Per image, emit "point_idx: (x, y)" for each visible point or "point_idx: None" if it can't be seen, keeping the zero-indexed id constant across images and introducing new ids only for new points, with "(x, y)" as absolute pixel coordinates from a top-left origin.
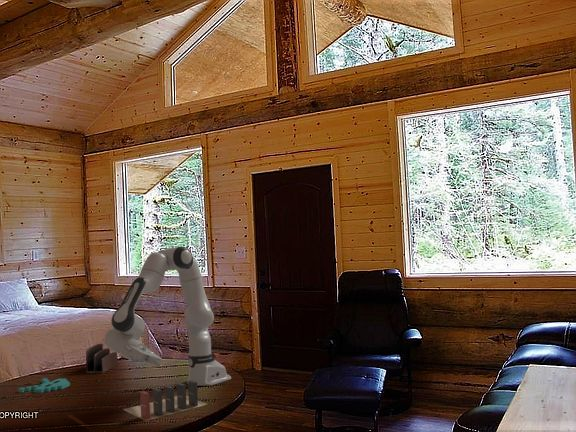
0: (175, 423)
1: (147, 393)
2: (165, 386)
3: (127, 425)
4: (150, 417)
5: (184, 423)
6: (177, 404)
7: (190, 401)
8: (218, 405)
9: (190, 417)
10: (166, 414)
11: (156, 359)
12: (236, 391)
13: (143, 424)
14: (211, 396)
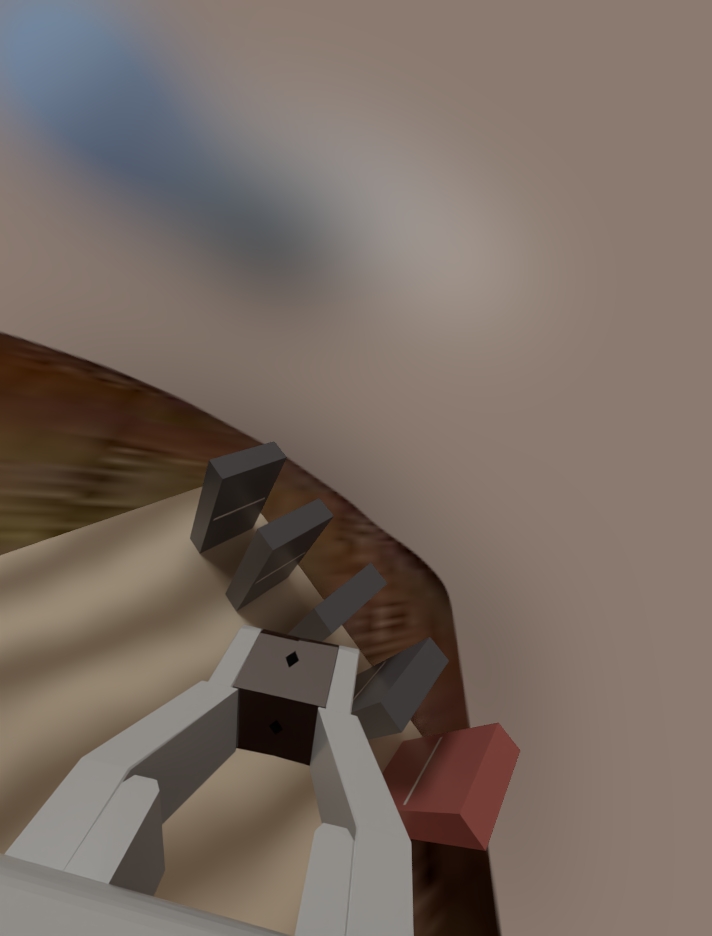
0: (416, 601)
1: (503, 738)
2: (339, 626)
3: (467, 894)
4: (390, 744)
5: (414, 568)
6: (240, 605)
7: (220, 536)
8: (228, 449)
9: (356, 550)
10: None
11: (156, 747)
12: (16, 350)
13: None
14: (36, 447)
